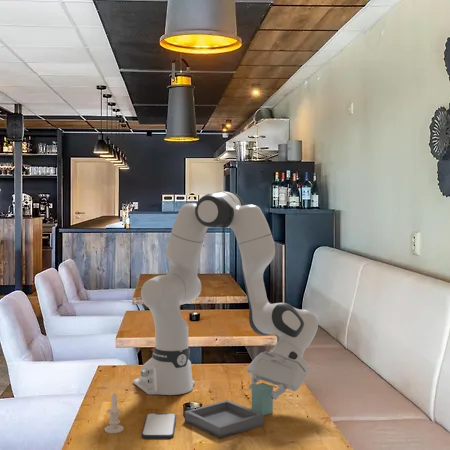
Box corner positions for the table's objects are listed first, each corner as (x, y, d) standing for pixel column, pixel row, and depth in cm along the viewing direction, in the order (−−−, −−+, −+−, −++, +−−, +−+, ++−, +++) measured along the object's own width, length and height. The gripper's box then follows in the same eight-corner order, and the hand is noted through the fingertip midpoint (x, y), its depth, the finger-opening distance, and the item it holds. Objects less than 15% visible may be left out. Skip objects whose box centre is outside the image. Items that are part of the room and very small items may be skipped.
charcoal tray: (184, 421, 173) (184, 411, 173) (227, 409, 183) (227, 399, 183) (219, 438, 161) (219, 427, 160) (263, 425, 171) (263, 414, 171)
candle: (122, 425, 169) (122, 389, 169) (125, 432, 164) (125, 394, 164) (103, 427, 168) (103, 390, 167) (105, 434, 163) (105, 396, 162)
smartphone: (173, 441, 160) (176, 418, 176) (173, 435, 160) (176, 413, 176) (140, 441, 160) (146, 418, 176) (140, 435, 160) (146, 413, 176)
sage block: (251, 411, 182) (251, 385, 181) (262, 408, 185) (262, 382, 184) (261, 415, 178) (262, 389, 178) (272, 412, 181) (273, 386, 181)
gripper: (257, 344, 193) (233, 379, 188) (304, 357, 178) (280, 396, 172) (267, 355, 196) (244, 391, 191) (314, 369, 181) (291, 408, 175)
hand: (261, 394), depth 181 cm, fingers open, 8 cm apart
